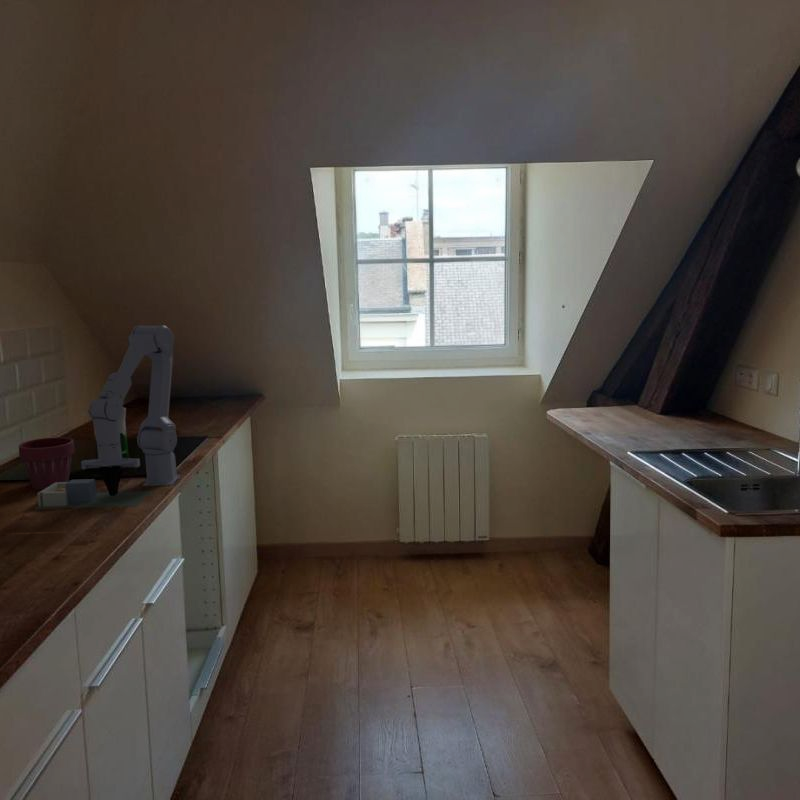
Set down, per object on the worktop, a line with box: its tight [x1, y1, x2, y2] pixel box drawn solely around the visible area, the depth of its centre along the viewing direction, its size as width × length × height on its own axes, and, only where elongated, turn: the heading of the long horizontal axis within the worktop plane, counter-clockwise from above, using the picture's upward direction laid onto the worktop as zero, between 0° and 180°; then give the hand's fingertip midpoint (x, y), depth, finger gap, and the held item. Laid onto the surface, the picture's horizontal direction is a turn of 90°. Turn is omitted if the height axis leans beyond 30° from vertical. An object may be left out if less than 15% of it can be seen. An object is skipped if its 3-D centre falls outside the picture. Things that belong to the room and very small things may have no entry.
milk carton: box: [93, 407, 130, 459], centre depth 235 cm, size 9×9×20 cm
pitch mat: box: [33, 490, 154, 510], centre depth 198 cm, size 13×26×1 cm, turn 90°
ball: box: [54, 488, 66, 492], centre depth 197 cm, size 4×4×4 cm
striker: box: [65, 478, 97, 503], centre depth 198 cm, size 4×6×5 cm, turn 90°
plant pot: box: [18, 436, 76, 491], centre depth 213 cm, size 14×14×13 cm
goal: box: [37, 482, 68, 507], centre depth 198 cm, size 10×7×4 cm
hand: (113, 494), depth 198 cm, fingers closed
